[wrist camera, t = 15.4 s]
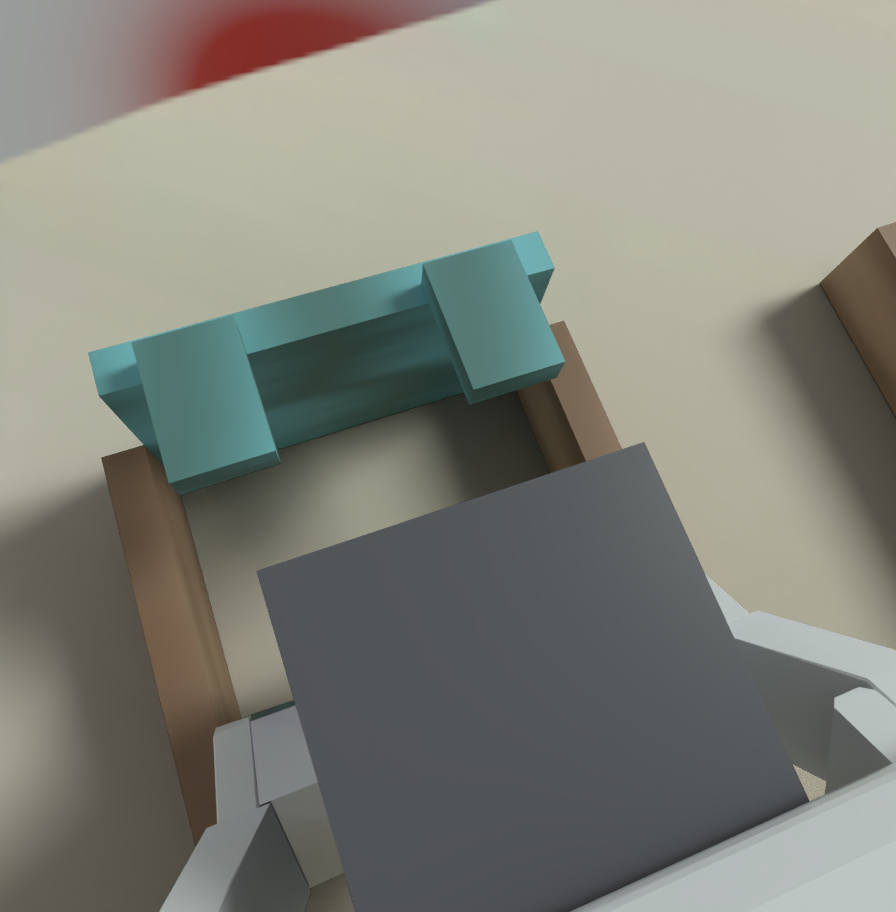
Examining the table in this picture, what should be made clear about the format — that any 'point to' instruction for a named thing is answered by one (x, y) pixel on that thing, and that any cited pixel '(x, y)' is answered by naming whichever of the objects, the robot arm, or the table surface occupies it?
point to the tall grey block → (525, 697)
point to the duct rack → (354, 419)
